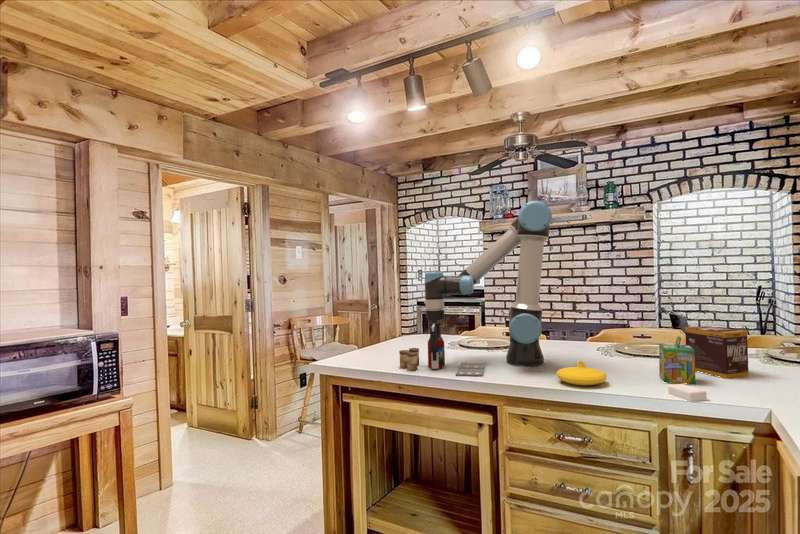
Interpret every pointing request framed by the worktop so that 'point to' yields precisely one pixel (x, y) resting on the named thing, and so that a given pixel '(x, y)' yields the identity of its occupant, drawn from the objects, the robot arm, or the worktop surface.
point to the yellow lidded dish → (581, 375)
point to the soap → (687, 392)
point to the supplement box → (719, 350)
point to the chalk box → (677, 363)
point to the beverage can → (440, 353)
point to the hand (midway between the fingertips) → (436, 366)
